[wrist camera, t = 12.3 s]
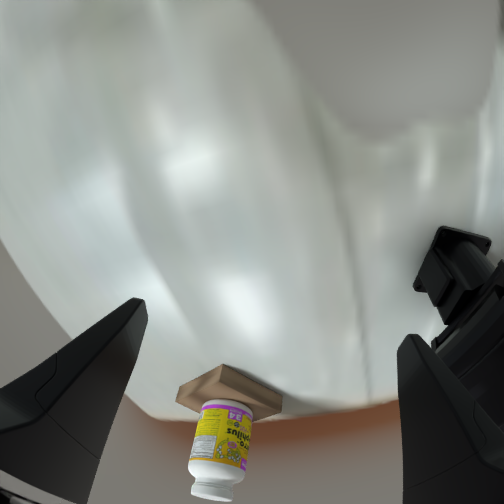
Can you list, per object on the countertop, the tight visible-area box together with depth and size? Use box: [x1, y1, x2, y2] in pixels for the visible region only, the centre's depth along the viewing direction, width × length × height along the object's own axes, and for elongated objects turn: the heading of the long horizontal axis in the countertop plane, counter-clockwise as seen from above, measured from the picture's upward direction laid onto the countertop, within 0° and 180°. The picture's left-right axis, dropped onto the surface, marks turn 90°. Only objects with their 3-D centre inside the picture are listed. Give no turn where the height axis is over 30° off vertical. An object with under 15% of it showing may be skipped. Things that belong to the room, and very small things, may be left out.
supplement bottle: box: [188, 399, 253, 501], centre depth 29 cm, size 7×7×13 cm
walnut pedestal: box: [175, 364, 282, 422], centre depth 35 cm, size 10×10×2 cm
